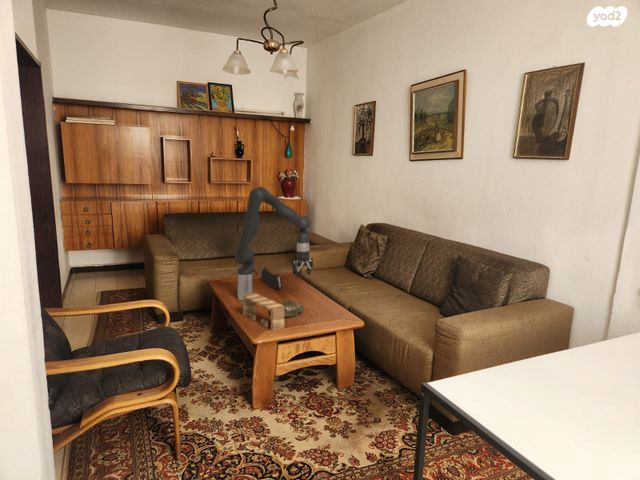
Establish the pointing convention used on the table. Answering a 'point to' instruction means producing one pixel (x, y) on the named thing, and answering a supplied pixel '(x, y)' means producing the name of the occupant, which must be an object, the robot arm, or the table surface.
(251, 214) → the robot arm
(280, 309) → the oak overhang
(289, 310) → the turtle shell
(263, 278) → the magazine
